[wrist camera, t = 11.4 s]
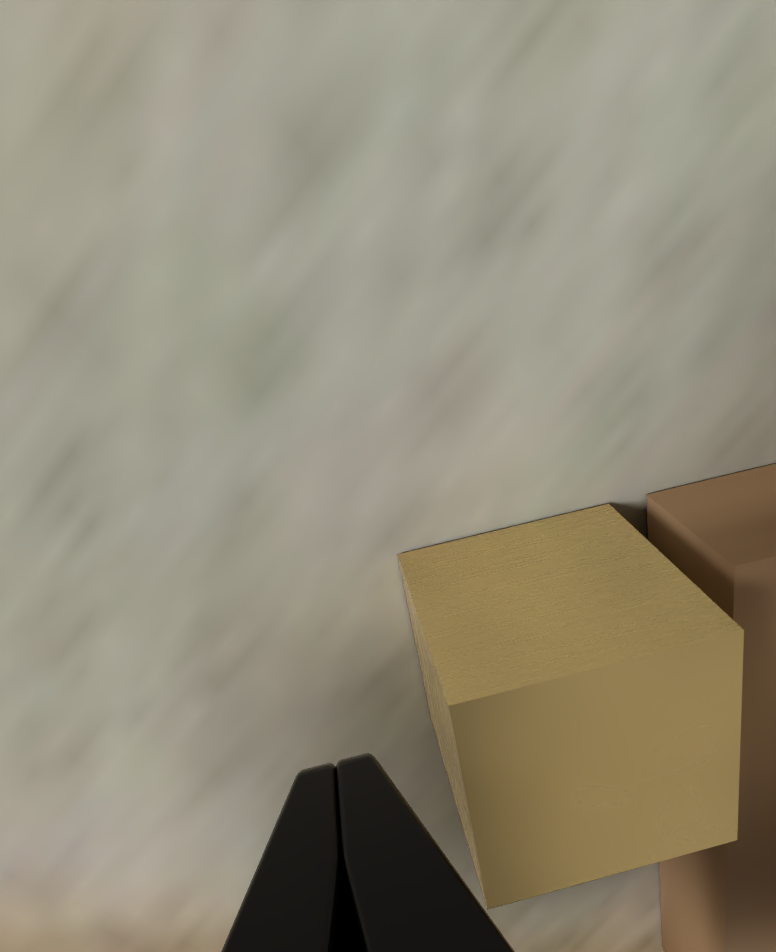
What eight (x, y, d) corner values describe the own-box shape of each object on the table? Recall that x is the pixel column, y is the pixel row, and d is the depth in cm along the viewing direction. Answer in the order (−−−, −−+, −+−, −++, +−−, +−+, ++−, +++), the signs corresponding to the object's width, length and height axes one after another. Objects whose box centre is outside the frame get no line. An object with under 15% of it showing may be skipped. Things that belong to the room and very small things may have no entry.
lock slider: (397, 553, 9) (448, 706, 7) (608, 503, 10) (743, 629, 7) (432, 722, 10) (487, 910, 8) (619, 674, 11) (737, 840, 8)
